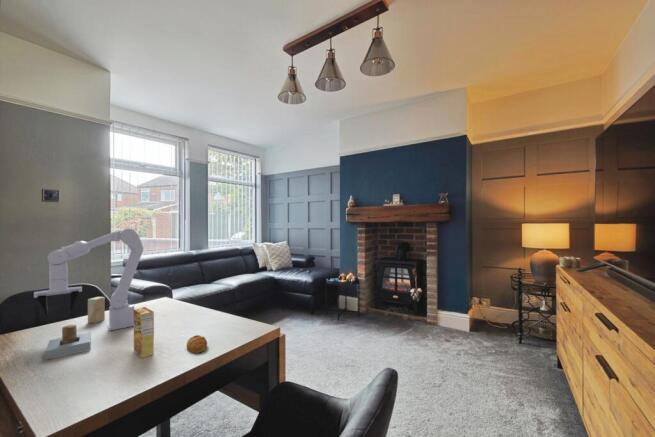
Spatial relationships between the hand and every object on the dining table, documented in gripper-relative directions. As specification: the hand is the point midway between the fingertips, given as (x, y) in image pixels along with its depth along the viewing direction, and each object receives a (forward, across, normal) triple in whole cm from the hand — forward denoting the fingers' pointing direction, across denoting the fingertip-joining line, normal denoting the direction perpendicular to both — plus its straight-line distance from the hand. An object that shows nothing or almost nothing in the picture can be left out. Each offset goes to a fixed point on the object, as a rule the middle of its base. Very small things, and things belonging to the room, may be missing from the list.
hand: (59, 311), depth 120 cm
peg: (+10, -4, +18) cm, 21 cm away
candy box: (+11, -25, +40) cm, 48 cm away
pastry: (+11, -41, +48) cm, 65 cm away
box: (+11, -12, -14) cm, 21 cm away
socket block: (+10, -4, +18) cm, 21 cm away
